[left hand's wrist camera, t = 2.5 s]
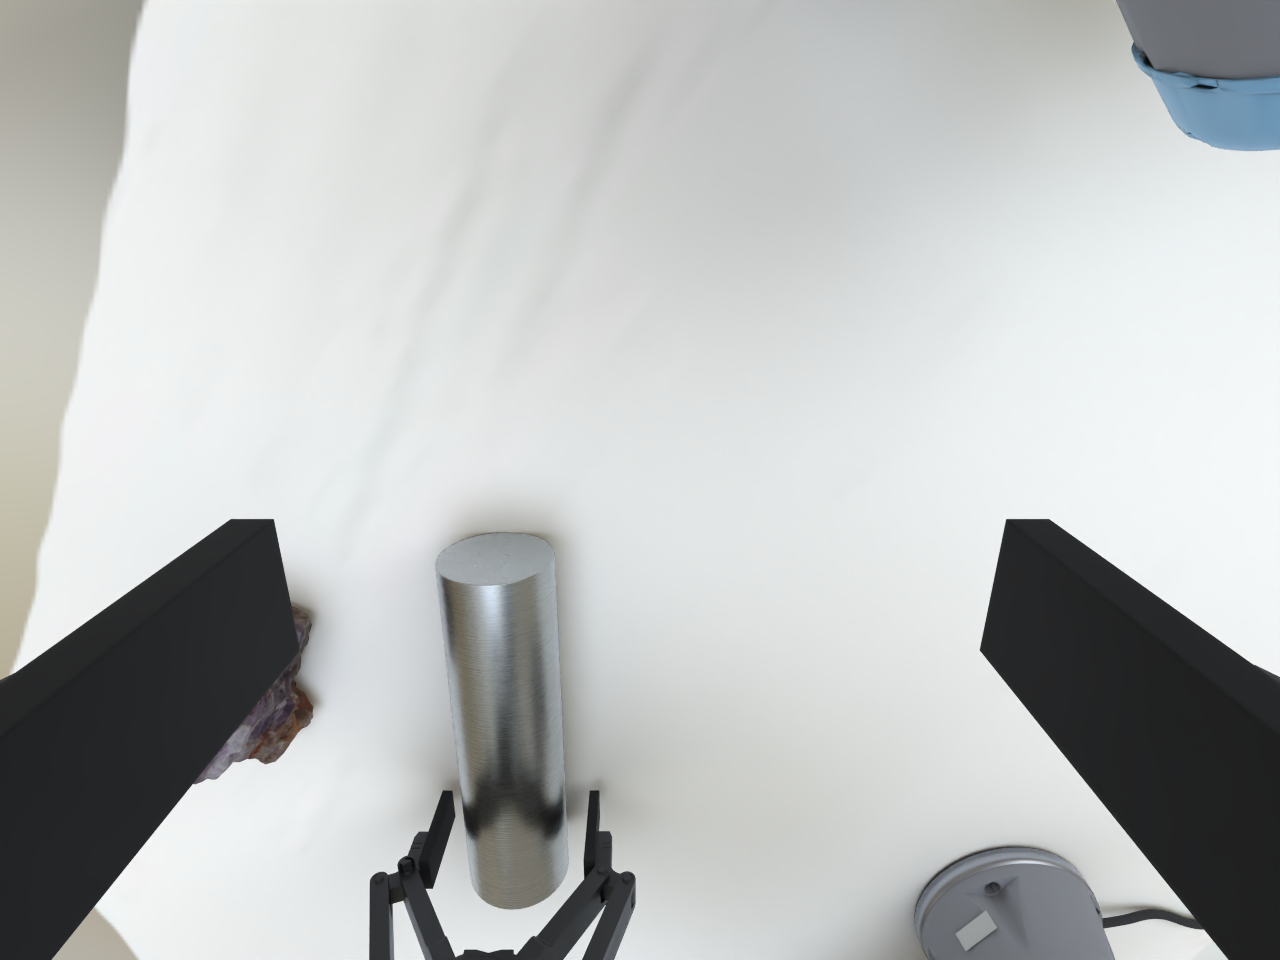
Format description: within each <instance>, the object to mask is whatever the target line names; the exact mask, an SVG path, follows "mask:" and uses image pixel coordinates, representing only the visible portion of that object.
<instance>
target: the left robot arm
mask: <svg viewBox="0 0 1280 960" xmlns="http://www.w3.org/2000/svg"><path fill="white" fill-rule="evenodd" d="M1116 1H1117V4H1118V6H1119V8H1120V10H1121V13H1122V15H1123V17H1124V20H1125V22H1126V24H1127V27H1128V29H1129V31H1130V33H1131V36H1132V38H1133V40H1134V43H1133V46H1132V53H1133V56H1134V59H1135V62H1136V63H1137V65H1138V66H1139V68H1140V69H1141V70H1142V71H1143V72H1145V73H1146V74H1147V75H1148V76H1150V77H1151V78H1152V80H1153V82H1154V84H1155V86H1156V88H1157V89H1158V91H1159V93H1160V95H1161V97H1162V99H1163V101H1164V103H1165V105H1166V107H1167V109H1168V111H1169V113H1170V115H1171V117H1172V119H1173V121H1174V122H1175V124H1176V125H1177V126H1178V127H1179V128H1180V129H1181V130H1182V131H1183V132H1184V133H1185V134H1186V135H1187V136H1189V137H1191V138H1194V139H1197V140H1201V141H1202V142H1205V143H1207V144H1209V145H1210V146H1212V147H1216V148H1221V149H1227V150H1239V151H1264V150H1278V149H1280V0H1116ZM299 651H300V647H299V642H298V637H297V632H296V627H295V622H294V617H293V612H292V607H291V602H290V597H289V593H288V588H287V583H286V578H285V573H284V568H283V563H282V558H281V553H280V548H279V543H278V538H277V533H276V528H275V523H274V519H231V520H229V521H228V522H226V523H225V524H224V525H222V526H221V527H219V528H218V529H217V530H215V531H214V532H212V533H211V534H209V535H208V536H207V537H205V538H204V539H202V540H201V541H200V542H198V543H197V544H195V545H194V546H193V547H191V548H190V549H188V550H187V551H186V552H184V553H183V554H181V555H180V556H179V557H177V558H176V559H174V560H173V561H172V562H170V563H169V564H167V565H166V566H165V567H163V568H162V569H160V570H159V571H158V572H156V573H155V574H153V575H152V576H151V577H149V578H148V579H146V580H145V581H144V582H142V583H141V584H139V585H138V586H137V587H135V588H134V589H132V590H131V591H130V592H128V593H127V594H125V595H124V596H123V597H121V598H120V599H118V600H117V601H116V602H114V603H113V604H111V605H110V606H109V607H107V608H106V609H104V610H103V611H101V612H100V613H99V614H97V615H96V616H94V617H93V618H92V619H90V620H89V621H87V622H86V623H85V624H83V625H82V626H80V627H79V628H78V629H76V630H75V631H73V632H72V633H71V634H69V635H68V636H66V637H65V638H64V639H62V640H61V641H59V642H58V643H57V644H55V645H54V646H52V647H51V648H50V649H48V650H47V651H45V652H44V653H43V654H41V655H40V656H38V657H37V658H36V659H34V660H33V661H31V662H30V663H29V664H27V665H26V666H24V667H23V668H22V669H20V670H19V671H17V672H16V673H14V674H12V675H10V676H8V677H6V678H4V679H2V680H0V960H52V958H53V957H54V956H55V955H56V953H57V952H58V951H59V950H60V948H61V947H62V946H63V945H64V943H65V942H66V941H67V940H68V939H69V937H70V936H71V935H72V934H73V932H74V931H75V930H76V929H77V927H78V926H79V925H80V924H81V922H82V921H83V920H84V919H85V917H86V916H87V915H88V914H89V912H90V911H91V910H92V909H93V907H94V906H95V905H96V904H97V902H98V901H99V900H100V899H101V897H102V896H103V895H104V894H105V892H106V891H107V890H108V889H109V888H110V886H111V885H112V884H113V883H114V881H115V880H116V879H117V878H118V876H119V875H120V874H121V873H122V871H123V870H124V869H125V868H126V866H127V865H128V864H129V863H130V861H131V860H132V859H133V858H134V856H135V855H136V854H137V853H138V851H139V850H140V849H141V848H142V846H143V845H144V844H145V843H146V841H147V840H148V839H149V838H150V837H151V835H152V834H153V833H154V832H155V830H156V829H157V828H158V827H159V825H160V824H161V823H162V822H163V820H164V819H165V818H166V817H167V815H168V814H169V813H170V812H171V810H172V809H173V808H174V807H175V805H176V804H177V803H178V802H179V800H180V799H181V798H182V797H183V795H184V794H185V793H186V792H187V790H188V789H189V788H190V787H191V786H192V784H193V783H194V782H195V781H196V779H197V778H198V777H199V776H200V774H201V773H202V772H203V771H204V769H205V768H206V767H207V766H208V764H209V763H210V762H211V761H212V759H213V758H214V757H215V756H216V754H217V753H218V752H219V751H220V749H221V748H222V747H223V746H224V744H225V743H226V742H227V741H228V739H229V738H230V737H231V736H232V734H233V733H234V732H235V731H236V730H237V728H238V727H239V726H240V725H241V723H242V722H243V721H244V720H245V718H246V717H247V716H248V715H249V713H250V712H251V711H252V710H253V708H254V707H255V706H256V705H257V703H258V702H259V701H260V700H261V698H262V697H263V696H264V695H265V693H266V692H267V691H268V690H269V688H270V687H271V686H272V685H273V683H274V682H275V681H276V680H277V679H278V677H279V676H280V675H281V674H282V672H283V671H284V670H285V669H286V667H287V666H288V665H289V664H290V662H291V661H292V660H293V659H294V657H295V656H296V655H297V654H298V652H299ZM980 651H981V652H982V654H983V655H984V656H985V657H986V659H987V660H988V661H989V662H990V664H991V665H992V666H993V667H994V669H995V670H996V671H997V672H998V674H999V675H1000V676H1001V677H1002V679H1003V680H1004V681H1005V682H1006V683H1007V685H1008V686H1009V687H1010V688H1011V690H1012V691H1013V692H1014V693H1015V695H1016V696H1017V697H1018V698H1019V700H1020V701H1021V702H1022V703H1023V705H1024V706H1025V707H1026V708H1027V710H1028V711H1029V712H1030V713H1031V715H1032V716H1033V717H1034V718H1035V720H1036V721H1037V722H1038V723H1039V725H1040V726H1041V727H1042V728H1043V730H1044V731H1045V732H1046V733H1047V734H1048V736H1049V737H1050V738H1051V739H1052V741H1053V742H1054V743H1055V744H1056V746H1057V747H1058V748H1059V749H1060V751H1061V752H1062V753H1063V754H1064V756H1065V757H1066V758H1067V759H1068V761H1069V762H1070V763H1071V764H1072V766H1073V767H1074V768H1075V769H1076V771H1077V772H1078V773H1079V774H1080V776H1081V777H1082V778H1083V779H1084V781H1085V782H1086V783H1087V784H1088V786H1089V787H1090V788H1091V789H1092V790H1093V792H1094V793H1095V794H1096V795H1097V797H1098V798H1099V799H1100V800H1101V802H1102V803H1103V804H1104V805H1105V807H1106V808H1107V809H1108V810H1109V812H1110V813H1111V814H1112V815H1113V817H1114V818H1115V819H1116V820H1117V822H1118V823H1119V824H1120V825H1121V827H1122V828H1123V829H1124V830H1125V832H1126V833H1127V834H1128V835H1129V837H1130V838H1131V839H1132V840H1133V841H1134V843H1135V844H1136V845H1137V846H1138V848H1139V849H1140V850H1141V851H1142V853H1143V854H1144V855H1145V856H1146V858H1147V859H1148V860H1149V861H1150V863H1151V864H1152V865H1153V866H1154V868H1155V869H1156V870H1157V871H1158V873H1159V874H1160V875H1161V876H1162V878H1163V879H1164V880H1165V881H1166V883H1167V884H1168V885H1169V886H1170V888H1171V889H1172V890H1173V891H1174V892H1175V894H1176V895H1177V896H1178V897H1179V899H1180V900H1181V901H1182V902H1183V904H1184V905H1185V906H1186V907H1187V909H1188V910H1189V911H1190V912H1191V914H1192V915H1193V916H1194V917H1195V919H1196V920H1197V921H1198V922H1199V924H1200V925H1201V926H1202V927H1203V929H1204V930H1205V931H1206V932H1207V934H1208V935H1209V936H1210V937H1211V939H1212V940H1213V941H1214V942H1215V943H1216V945H1217V946H1218V947H1219V948H1220V950H1221V951H1222V952H1223V953H1224V955H1225V956H1226V957H1227V958H1228V960H1280V677H1279V676H1276V675H1274V674H1272V673H1270V672H1268V671H1266V670H1264V669H1262V668H1260V667H1258V666H1256V665H1253V664H1251V663H1250V662H1249V661H1247V660H1246V659H1244V658H1243V657H1242V656H1240V655H1239V654H1237V653H1236V652H1235V651H1233V650H1232V649H1230V648H1229V647H1228V646H1226V645H1225V644H1223V643H1222V642H1221V641H1219V640H1218V639H1216V638H1215V637H1214V636H1212V635H1211V634H1209V633H1208V632H1207V631H1205V630H1204V629H1202V628H1201V627H1200V626H1198V625H1197V624H1195V623H1194V622H1193V621H1191V620H1190V619H1188V618H1187V617H1186V616H1184V615H1183V614H1181V613H1180V612H1179V611H1177V610H1176V609H1174V608H1173V607H1171V606H1170V605H1169V604H1167V603H1166V602H1164V601H1163V600H1162V599H1160V598H1159V597H1157V596H1156V595H1155V594H1153V593H1152V592H1150V591H1149V590H1148V589H1146V588H1145V587H1143V586H1142V585H1141V584H1139V583H1138V582H1136V581H1135V580H1134V579H1132V578H1131V577H1129V576H1128V575H1127V574H1125V573H1124V572H1122V571H1121V570H1120V569H1118V568H1117V567H1115V566H1114V565H1113V564H1111V563H1110V562H1108V561H1107V560H1106V559H1104V558H1103V557H1101V556H1100V555H1099V554H1097V553H1096V552H1094V551H1093V550H1092V549H1090V548H1089V547H1087V546H1086V545H1085V544H1083V543H1082V542H1080V541H1079V540H1078V539H1076V538H1075V537H1073V536H1072V535H1070V534H1069V533H1068V532H1066V531H1065V530H1063V529H1062V528H1061V527H1059V526H1058V525H1056V524H1055V523H1054V522H1052V521H1051V520H1049V519H1006V523H1005V528H1004V533H1003V538H1002V543H1001V548H1000V553H999V558H998V563H997V568H996V573H995V578H994V583H993V588H992V593H991V597H990V602H989V607H988V612H987V617H986V622H985V627H984V632H983V637H982V642H981V647H980Z"/></svg>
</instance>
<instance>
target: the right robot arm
mask: <svg viewBox="0 0 1280 960" xmlns="http://www.w3.org/2000/svg"><path fill="white" fill-rule="evenodd" d="M454 819H455V809H454V801H453V792H452V790H443V792H442V795H441V797H440V800H439V803H438V806H437V809H436V812H435V815H434V818H433V820H432V823H431V826H430V829H429V832H419V833H418V834H417V835H416V836H415V837H414V840H413V843H412V845H411V849H410V851H409V854H408V856H405V857H403V858H402V859H400V861H399V862H398V872H396V873H394V874H390V875H388V874H387V873H386V872H378V873H376V874H375V875H373V876H372V878H371V879H370V945H369V960H394V939H393V903H396V902H400V901H404V903H405V906H406V909H407V911H408V914H409V917H410V920H411V922H412V925H413V928H414V930H415V933H416V936H417V938H418V941H419V944H420V946H421V949H422V952H423V954H424V957H425V960H563V959H564V958H565V957H566V955H567V954H568V953H569V951H570V950H571V949H572V947H573V946H574V945H575V944H576V942H577V941H578V940H579V938H580V937H581V936H582V934H583V933H584V932H585V930H586V929H587V928H588V927H589V925H590V924H591V923H592V921H593V920H594V919H595V917H596V916H597V915H598V914H599V912H600V911H601V910H602V908H603V907H604V906H605V905H606V907H605V909H604V911H603V914H602V916H601V918H600V920H599V923H598V925H597V927H596V929H595V932H594V934H593V936H592V939H591V941H590V943H589V945H588V948H587V950H586V952H585V955H584V957H583V959H582V960H614V958H615V956H616V953H617V951H618V948H619V946H620V943H621V941H622V938H623V936H624V933H625V931H626V928H627V926H628V923H629V920H630V918H631V915H632V913H633V910H634V908H635V876H634V874H633V873H631V872H628V871H626V872H623V873H621V874H619V873H616V872H615V871H613V869H612V868H611V866H612V836H611V834H610V831H599V821H600V802H599V791H590V795H589V806H588V818H587V829H586V841H585V852H584V880H583V882H582V883H581V884H580V885H579V886H578V888H577V889H576V890H575V891H574V892H573V894H572V895H571V896H570V897H569V898H568V900H567V901H566V902H565V903H564V904H563V906H562V907H561V908H560V909H559V910H558V912H557V913H556V914H555V915H554V916H553V918H552V919H551V920H550V921H549V922H548V924H547V925H546V926H545V927H544V929H543V930H542V931H541V932H540V933H539V935H538V936H536V937H535V936H533V937H531V938H530V939H529V940H528V942H527V943H526V944H525V945H524V946H523V948H522V949H521V950H520V951H519V952H518V954H517V955H515V954H514V950H498V951H494V952H491V953H486V952H483V951H479V950H464V954H462V955H459V956H457V957H455V955H454V953H453V951H452V948H451V946H450V943H449V941H448V939H447V937H446V936H445V935H444V933H443V930H442V928H441V925H440V923H439V920H438V918H437V916H436V913H435V911H434V908H433V906H432V903H431V901H430V899H429V896H428V894H427V891H426V889H433V886H434V883H435V880H436V877H437V874H438V870H439V867H440V864H441V861H442V858H443V854H444V851H445V848H446V845H447V842H448V838H449V835H450V832H451V829H452V826H453V822H454ZM1147 919H1164V920H1168V921H1171V922H1174V923H1177V924H1180V925H1183V926H1186V927H1190V928H1194V929H1203V927H1202V926H1201V925H1200V924H1199V922H1198V921H1197V920H1192V919H1187V918H1184V917H1181V916H1179V915H1176V914H1173V913H1170V912H1166V911H1162V910H1154V909H1149V910H1141V911H1137V912H1133V913H1129V914H1125V915H1120V916H1115V917H1108V918H1102V915H1101V912H1100V908H1099V905H1098V903H1097V901H1096V898H1095V896H1094V894H1093V892H1092V891H1091V889H1090V888H1089V886H1088V885H1087V883H1086V882H1085V880H1084V879H1083V877H1082V876H1081V874H1080V873H1079V872H1078V871H1077V869H1076V868H1075V867H1074V866H1073V865H1071V864H1070V863H1069V862H1067V861H1066V860H1065V859H1063V858H1061V857H1059V856H1057V855H1055V854H1052V853H1049V852H1046V851H1043V850H1038V849H1032V848H1020V847H1016V848H1001V849H995V850H990V851H986V852H982V853H979V854H975V855H973V856H970V857H968V858H965V859H963V860H961V861H959V862H957V863H955V864H954V865H952V866H950V867H949V868H947V869H946V870H944V871H943V872H942V873H941V874H939V875H938V876H937V877H936V878H935V879H934V880H933V881H932V882H931V883H930V884H929V885H928V887H927V888H926V889H925V891H924V892H923V894H922V896H921V897H920V899H919V902H918V904H917V907H916V911H915V928H916V932H917V935H918V938H919V940H920V943H921V945H922V948H923V950H924V953H925V955H926V957H927V958H928V960H1115V958H1114V955H1113V952H1112V950H1111V947H1110V944H1109V942H1108V940H1107V937H1106V934H1105V931H1104V929H1103V928H1109V927H1115V926H1121V925H1127V924H1131V923H1135V922H1139V921H1143V920H1147Z"/></svg>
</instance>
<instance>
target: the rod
mask: <svg viewBox="0 0 1280 960" xmlns="http://www.w3.org/2000/svg"><path fill="white" fill-rule="evenodd" d="M435 567H436V576H437V585H438V593H439V602H440V611H441V620H442V629H443V637H444V646H445V655H446V664H447V673H448V681H449V690H450V699H451V708H452V717H453V725H454V734H455V743H456V752H457V760H458V769H459V778H460V787H461V796H462V804H463V813H464V822H465V831H466V840H467V848H468V857H469V866H470V875H471V882H472V885H473V887H474V889H475V891H476V893H477V894H478V895H479V896H480V897H481V898H482V899H483V900H484V901H485V902H487V903H488V904H490V905H492V906H495V907H498V908H502V909H522V908H526V907H530V906H533V905H535V904H537V903H539V902H541V901H543V900H545V899H546V898H547V897H549V896H550V895H551V894H552V893H553V892H554V891H555V890H556V889H557V888H558V887H559V886H560V884H561V883H562V881H563V879H564V877H565V875H566V872H567V869H568V862H569V856H568V834H567V812H566V790H565V769H564V747H563V725H562V703H561V681H560V660H559V638H558V616H557V594H556V573H555V553H554V550H553V548H552V546H551V545H550V544H549V543H547V542H546V541H544V540H543V539H540V538H538V537H535V536H531V535H527V534H521V533H491V534H484V535H478V536H474V537H470V538H467V539H464V540H461V541H459V542H457V543H454V544H452V545H451V546H449V547H447V548H446V549H445V550H443V551H442V552H441V553H440V554H439V556H438V557H437V559H436V563H435Z"/></svg>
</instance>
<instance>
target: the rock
mask: <svg viewBox="0 0 1280 960" xmlns="http://www.w3.org/2000/svg"><path fill="white" fill-rule="evenodd" d="M292 612H293V617H294V622H295V627H296V632H297V637H298V642H299V647H300V651H299V652H298V654H297V655H296V656H295V657H294V659H293V660H292V661H291V662H290V664H289V665H288V666H287V667H286V669H285V670H284V671H283V672H282V674H281V675H280V676H279V677H278V679H277V680H276V681H275V682H274V683H273V685H272V686H271V687H270V688H269V690H268V691H267V692H266V693H265V695H264V696H263V697H262V698H261V700H260V701H259V702H258V703H257V705H256V706H255V707H254V708H253V710H252V711H251V712H250V713H249V715H248V716H247V717H246V718H245V720H244V721H243V722H242V723H241V725H240V726H239V727H238V728H237V730H236V731H235V732H234V733H233V734H232V736H231V737H230V738H229V739H228V741H227V742H226V743H225V744H224V746H223V747H222V748H221V749H220V751H219V752H218V753H217V754H216V756H215V757H214V758H213V759H212V761H211V762H210V763H209V764H208V766H207V767H206V768H205V769H204V771H203V772H202V773H201V774H200V776H199V777H198V778H197V779H196V781H195V782H194V783H193V784H197V783H200V782H203V781H204V780H206V779H217V778H219V776H220V775H221V774H222V773H223V772H225V771H226V770H227V768H228V767H229V766H230V765H231V764H232V762H241V761H243V760H245V759H254V758H256V759H258V760H259V761H260V762H262V763H264V764H268V763H272V762H275V761H276V760H277V759H278V758H279V757H280V756H281V755H282V754H283V753H284V752H285V750H286V749H287V748H288V746H289V745H290V743H291V742H292V740H293V739H294V738H295V736H296V735H297V733H298V732H299V731H300V730H301V729H302V728H304V727H307V726H308V725H309V724H310V723H311V721H310V720H311V719H312V718H313V706H312V705H311V704H310V702H309V701H308V698H307V696H306V695H305V693H304V692H302V691H300V690H299V689H298V688H296V683H295V682H294V681H293V678H294V676H295V675H297V673H298V671H299V669H300V664H301V656H300V655H301V654H302V651H303V648H304V647H305V646H306V645H307V643H308V640H309V632H310V629H311V622H310V620H309V618H308V616H307V615H306V614H304V613H302V612H301V611H300V610H299V609H297V608H294V607H292Z"/></svg>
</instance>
